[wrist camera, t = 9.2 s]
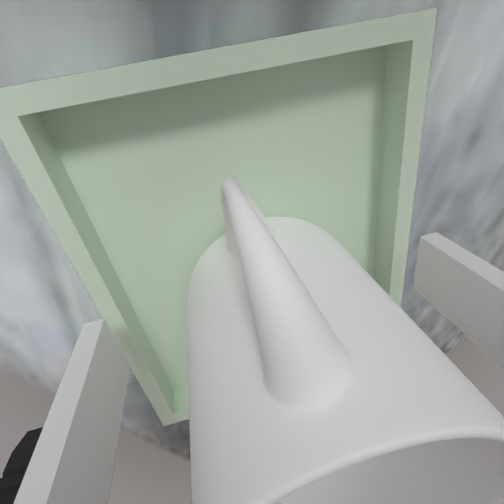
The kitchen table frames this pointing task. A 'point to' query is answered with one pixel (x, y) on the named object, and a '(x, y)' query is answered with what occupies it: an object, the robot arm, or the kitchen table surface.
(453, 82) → the kitchen table surface
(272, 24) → the kitchen table surface
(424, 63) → the tray
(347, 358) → the mug
